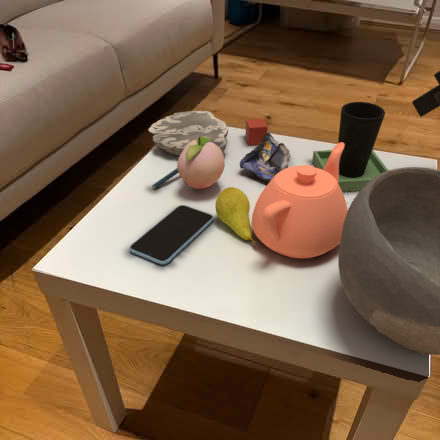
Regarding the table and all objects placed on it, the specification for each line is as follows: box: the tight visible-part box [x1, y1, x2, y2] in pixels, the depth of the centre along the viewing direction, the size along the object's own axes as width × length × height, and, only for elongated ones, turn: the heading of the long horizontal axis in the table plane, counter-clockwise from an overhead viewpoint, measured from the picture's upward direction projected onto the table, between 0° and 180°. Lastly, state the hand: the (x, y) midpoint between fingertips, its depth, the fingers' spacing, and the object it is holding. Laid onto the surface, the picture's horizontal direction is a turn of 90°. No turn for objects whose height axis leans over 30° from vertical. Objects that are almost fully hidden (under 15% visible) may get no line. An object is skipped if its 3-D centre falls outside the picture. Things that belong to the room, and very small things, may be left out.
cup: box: [337, 101, 386, 178], centre depth 87 cm, size 8×8×12 cm
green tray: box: [311, 149, 390, 193], centre depth 91 cm, size 12×12×2 cm
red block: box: [245, 118, 269, 146], centre depth 101 cm, size 4×4×4 cm
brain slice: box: [147, 110, 229, 157], centre depth 100 cm, size 20×17×3 cm
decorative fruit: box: [176, 136, 226, 190], centre depth 84 cm, size 9×8×10 cm
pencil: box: [151, 167, 179, 190], centre depth 90 cm, size 1×1×15 cm
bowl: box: [337, 166, 440, 356], centre depth 59 cm, size 24×24×15 cm
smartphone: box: [129, 204, 214, 265], centre depth 77 cm, size 7×1×15 cm
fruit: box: [215, 186, 258, 245], centre depth 77 cm, size 6×6×12 cm
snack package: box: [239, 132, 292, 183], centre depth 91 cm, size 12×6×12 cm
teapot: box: [251, 142, 348, 259], centre depth 73 cm, size 22×15×12 cm
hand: (427, 94), depth 76 cm, fingers open, 13 cm apart
